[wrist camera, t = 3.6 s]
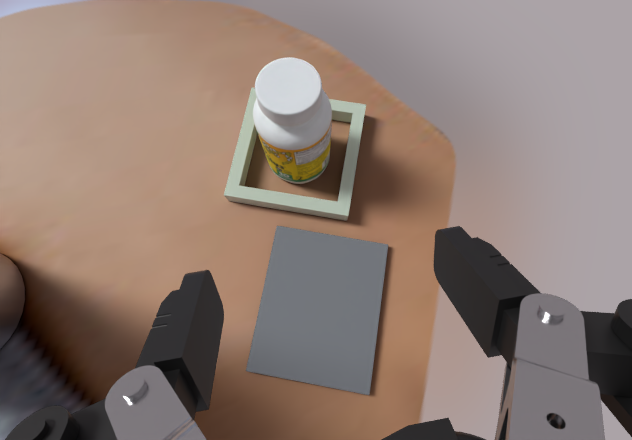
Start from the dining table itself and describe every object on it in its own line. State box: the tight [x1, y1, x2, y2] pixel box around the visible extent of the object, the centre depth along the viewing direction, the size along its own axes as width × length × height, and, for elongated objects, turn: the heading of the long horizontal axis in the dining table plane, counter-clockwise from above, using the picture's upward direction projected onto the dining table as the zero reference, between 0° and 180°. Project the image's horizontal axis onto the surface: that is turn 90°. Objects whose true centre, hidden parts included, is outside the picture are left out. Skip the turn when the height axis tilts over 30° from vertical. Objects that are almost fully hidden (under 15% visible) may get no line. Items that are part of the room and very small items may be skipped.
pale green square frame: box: [224, 88, 366, 221], centre depth 28 cm, size 10×10×2 cm
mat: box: [246, 226, 388, 395], centre depth 26 cm, size 11×9×1 cm
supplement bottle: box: [253, 58, 332, 184], centre depth 24 cm, size 5×5×10 cm
